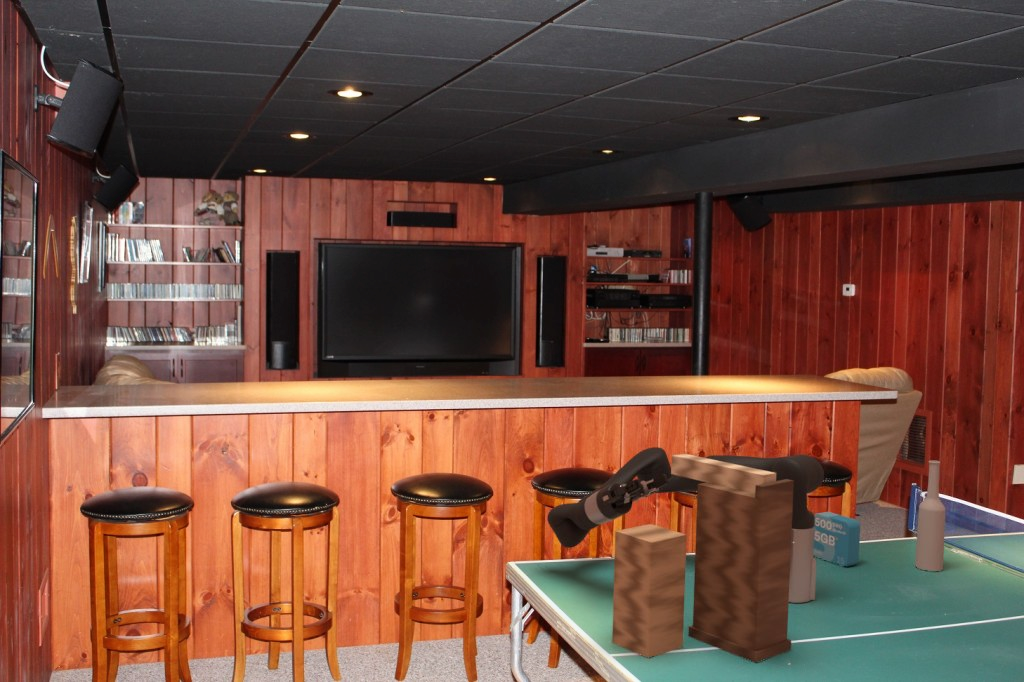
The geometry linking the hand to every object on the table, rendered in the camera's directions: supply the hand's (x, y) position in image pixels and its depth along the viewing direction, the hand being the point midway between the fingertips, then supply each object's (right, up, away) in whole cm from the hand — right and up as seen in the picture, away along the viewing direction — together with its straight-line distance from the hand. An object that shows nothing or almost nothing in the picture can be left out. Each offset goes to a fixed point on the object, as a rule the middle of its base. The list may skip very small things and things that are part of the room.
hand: (653, 480), depth 218 cm
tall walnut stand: (+15, -31, -17) cm, 38 cm away
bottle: (+77, -28, +36) cm, 89 cm away
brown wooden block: (+12, +2, -15) cm, 19 cm away
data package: (+54, -27, +41) cm, 73 cm away
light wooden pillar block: (-4, -30, -19) cm, 36 cm away
